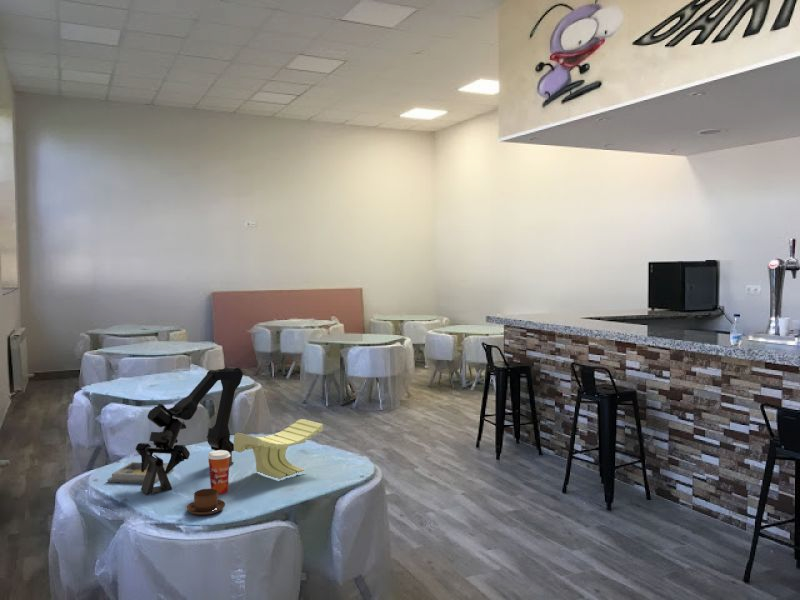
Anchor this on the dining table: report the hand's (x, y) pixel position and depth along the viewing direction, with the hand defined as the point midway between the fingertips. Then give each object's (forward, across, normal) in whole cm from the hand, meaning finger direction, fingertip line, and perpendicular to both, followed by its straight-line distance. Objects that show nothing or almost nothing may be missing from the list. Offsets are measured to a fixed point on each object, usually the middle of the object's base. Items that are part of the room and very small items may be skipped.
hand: (154, 472), depth 236 cm
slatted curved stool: (-15, +36, +25) cm, 46 cm away
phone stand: (+4, 0, +6) cm, 7 cm away
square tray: (-6, -14, +15) cm, 21 cm away
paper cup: (+2, +23, +8) cm, 24 cm away
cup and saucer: (+15, +27, -5) cm, 31 cm away
